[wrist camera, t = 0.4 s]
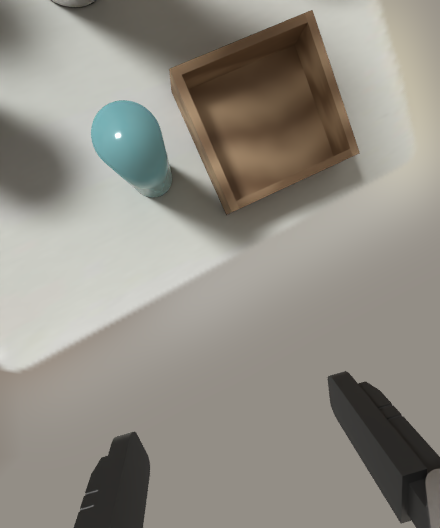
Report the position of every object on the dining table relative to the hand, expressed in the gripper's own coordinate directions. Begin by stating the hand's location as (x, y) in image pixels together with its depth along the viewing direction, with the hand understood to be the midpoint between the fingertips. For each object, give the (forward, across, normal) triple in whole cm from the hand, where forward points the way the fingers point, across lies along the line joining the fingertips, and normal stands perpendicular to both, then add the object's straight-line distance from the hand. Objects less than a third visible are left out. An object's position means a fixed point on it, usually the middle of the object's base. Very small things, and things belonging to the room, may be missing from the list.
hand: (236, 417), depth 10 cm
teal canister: (+28, +4, -10) cm, 30 cm away
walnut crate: (+30, -12, -13) cm, 35 cm away
